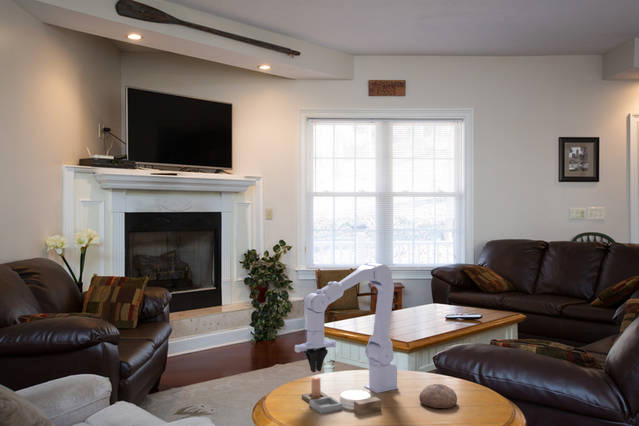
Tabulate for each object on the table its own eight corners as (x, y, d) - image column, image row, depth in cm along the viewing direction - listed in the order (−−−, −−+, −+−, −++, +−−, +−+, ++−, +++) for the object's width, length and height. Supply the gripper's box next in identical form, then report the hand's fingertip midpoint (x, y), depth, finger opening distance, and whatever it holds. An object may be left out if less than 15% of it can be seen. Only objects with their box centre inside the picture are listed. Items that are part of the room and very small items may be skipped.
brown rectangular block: (375, 407, 170) (375, 396, 170) (381, 411, 167) (381, 399, 167) (354, 412, 166) (354, 401, 166) (359, 415, 164) (359, 404, 164)
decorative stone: (443, 411, 165) (442, 393, 165) (412, 402, 174) (411, 385, 174) (464, 401, 173) (463, 384, 173) (433, 393, 182) (432, 377, 182)
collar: (320, 394, 183) (320, 391, 182) (330, 401, 176) (330, 397, 176) (301, 398, 179) (301, 394, 179) (311, 404, 173) (311, 401, 173)
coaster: (376, 403, 174) (376, 392, 174) (361, 413, 166) (361, 402, 166) (349, 397, 180) (349, 387, 180) (334, 407, 172) (333, 396, 172)
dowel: (317, 397, 180) (317, 376, 180) (322, 400, 177) (322, 379, 177) (309, 398, 178) (309, 377, 178) (314, 401, 176) (314, 380, 176)
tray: (330, 402, 175) (330, 396, 175) (342, 410, 168) (342, 403, 168) (309, 406, 171) (309, 400, 171) (320, 414, 165) (320, 408, 165)
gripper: (328, 325, 185) (329, 364, 185) (290, 330, 178) (290, 371, 178) (339, 329, 178) (339, 370, 178) (300, 334, 172) (300, 376, 172)
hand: (315, 371), depth 178 cm, fingers closed
